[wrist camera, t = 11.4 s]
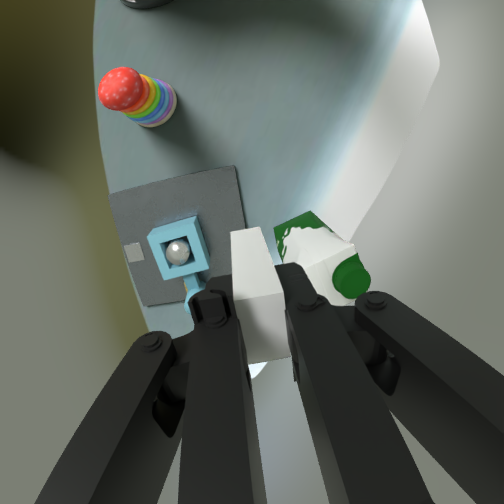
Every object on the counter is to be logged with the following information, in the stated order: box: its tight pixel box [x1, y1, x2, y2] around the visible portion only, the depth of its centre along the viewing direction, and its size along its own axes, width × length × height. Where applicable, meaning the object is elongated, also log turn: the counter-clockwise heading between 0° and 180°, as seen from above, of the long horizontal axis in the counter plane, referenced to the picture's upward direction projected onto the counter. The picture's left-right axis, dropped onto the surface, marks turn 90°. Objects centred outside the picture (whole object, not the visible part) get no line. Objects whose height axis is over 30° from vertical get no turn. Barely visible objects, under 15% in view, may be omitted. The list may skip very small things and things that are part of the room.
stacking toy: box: [98, 67, 177, 127], centre depth 30 cm, size 8×8×19 cm
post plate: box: [108, 165, 245, 306], centre depth 45 cm, size 22×22×6 cm
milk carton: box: [274, 211, 371, 306], centre depth 40 cm, size 9×9×20 cm
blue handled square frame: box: [147, 216, 210, 315], centre depth 45 cm, size 8×15×6 cm, turn 14°
